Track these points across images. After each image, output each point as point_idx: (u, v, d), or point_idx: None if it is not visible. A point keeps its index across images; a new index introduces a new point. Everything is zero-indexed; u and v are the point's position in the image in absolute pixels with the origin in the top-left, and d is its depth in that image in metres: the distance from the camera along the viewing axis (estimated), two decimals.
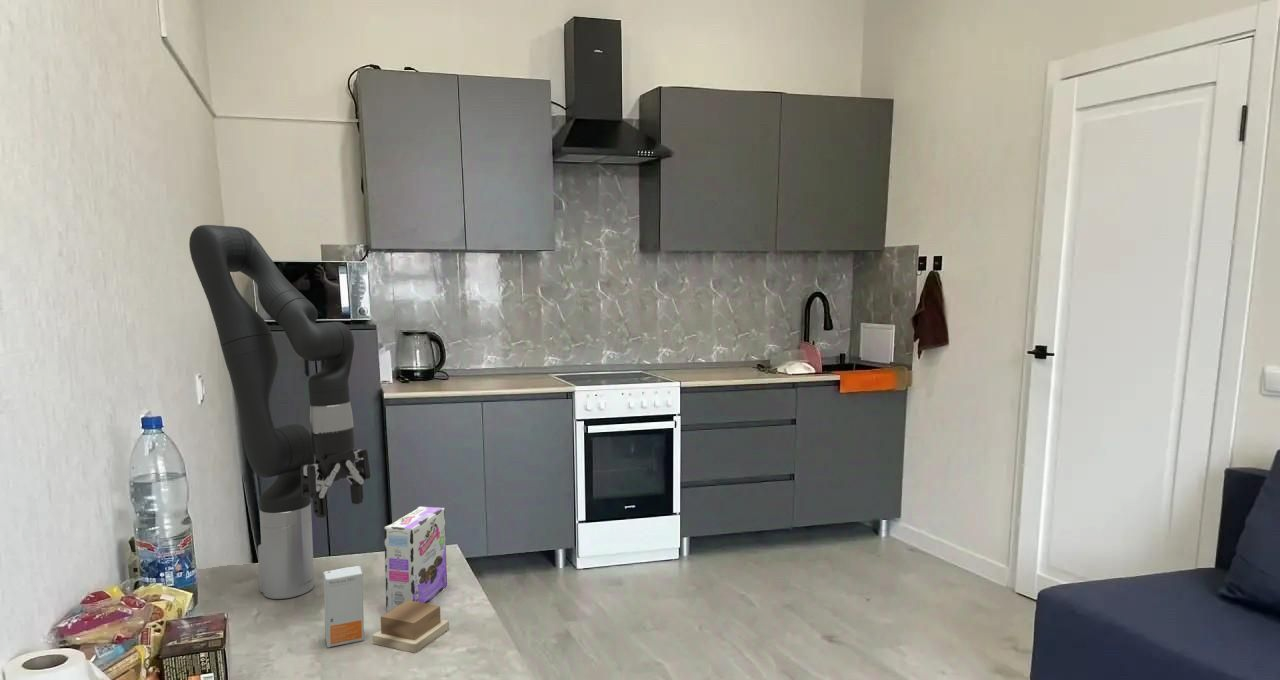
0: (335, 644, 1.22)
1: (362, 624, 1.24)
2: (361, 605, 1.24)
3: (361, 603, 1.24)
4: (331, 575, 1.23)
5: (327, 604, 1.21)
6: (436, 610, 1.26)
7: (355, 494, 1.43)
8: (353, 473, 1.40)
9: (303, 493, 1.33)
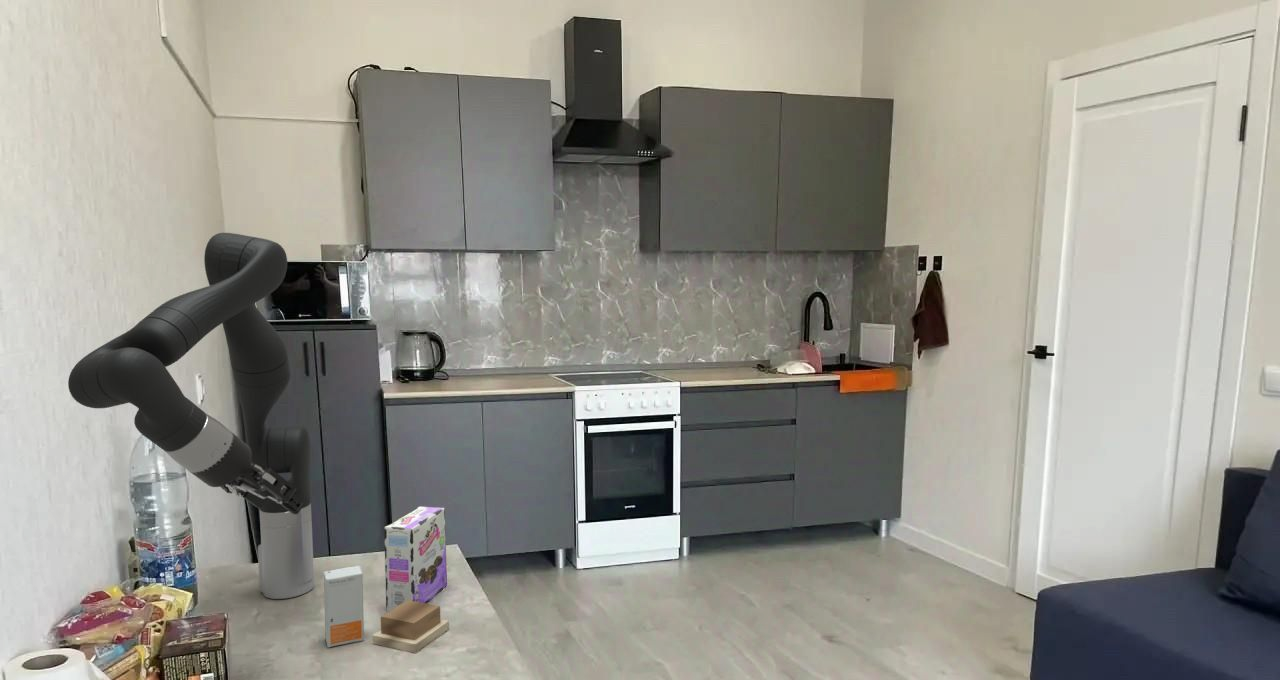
0: (335, 644, 1.22)
1: (362, 624, 1.24)
2: (361, 605, 1.24)
3: (361, 603, 1.24)
4: (331, 575, 1.23)
5: (327, 604, 1.21)
6: (436, 610, 1.26)
7: None
8: (257, 495, 1.09)
9: None
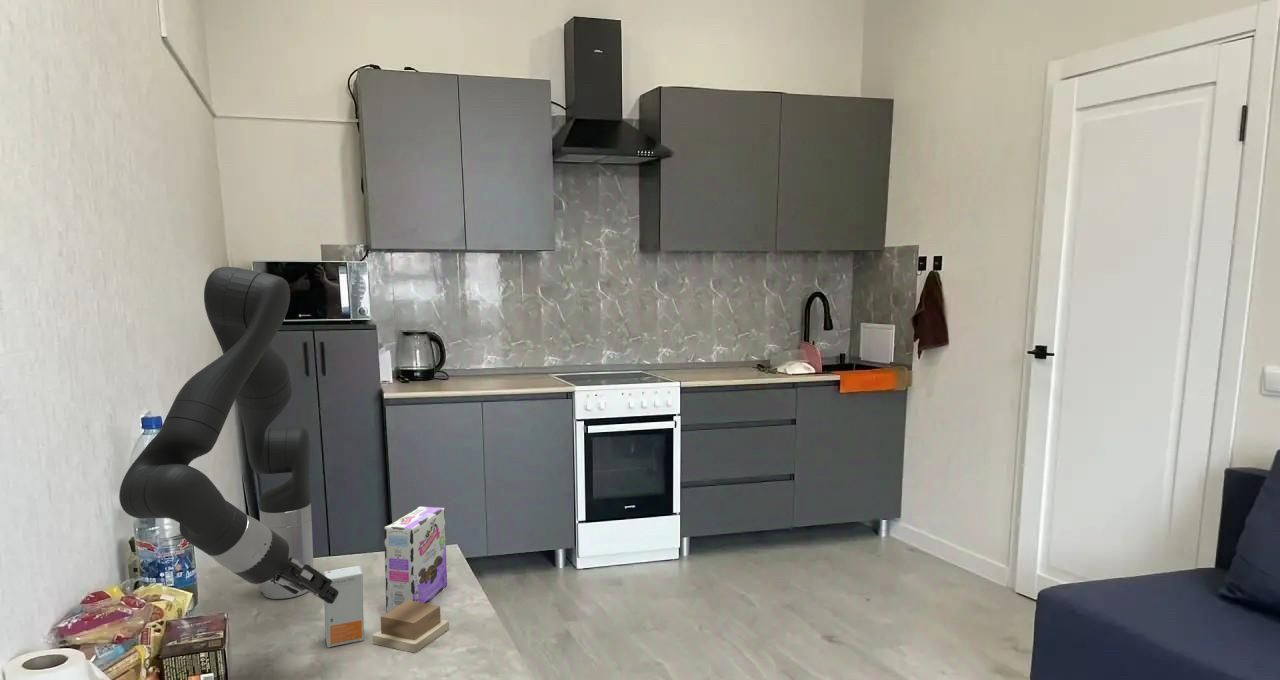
0: (335, 644, 1.22)
1: (362, 624, 1.24)
2: (361, 605, 1.24)
3: (361, 603, 1.24)
4: (331, 575, 1.23)
5: (327, 604, 1.21)
6: (436, 610, 1.26)
7: None
8: (294, 588, 1.13)
9: None
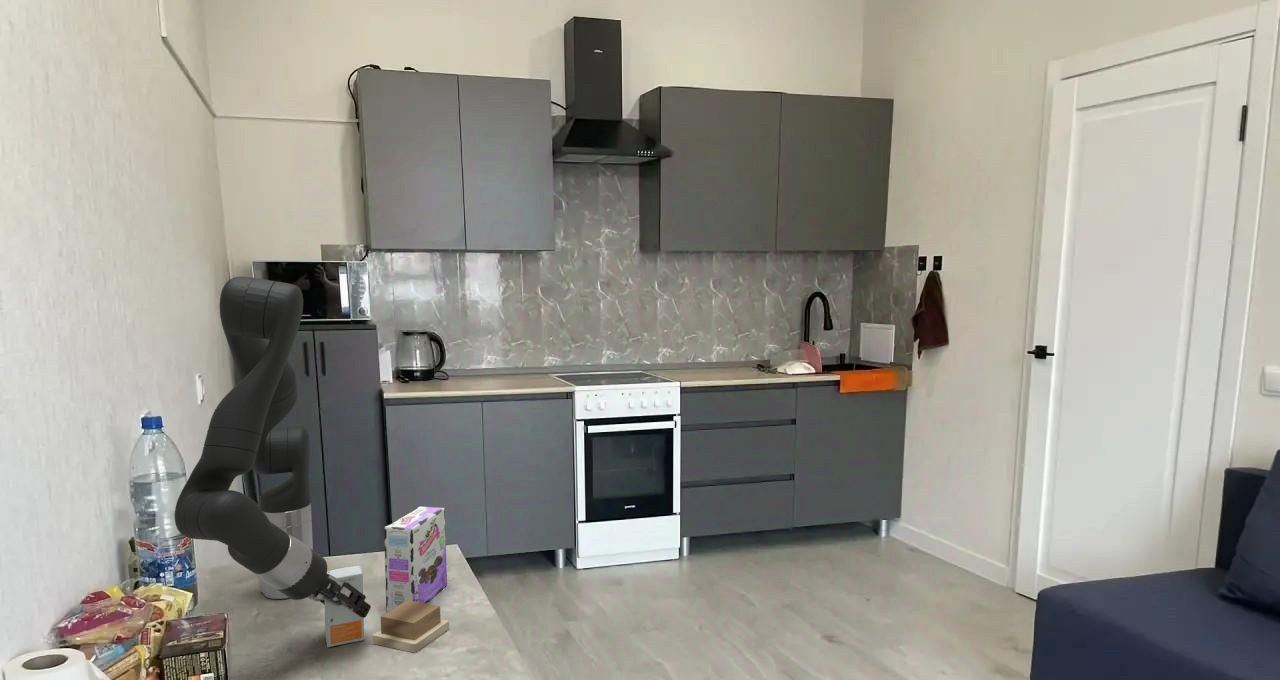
0: (335, 644, 1.22)
1: (362, 624, 1.24)
2: None
3: None
4: None
5: (327, 604, 1.21)
6: (436, 610, 1.26)
7: None
8: (331, 603, 1.19)
9: None
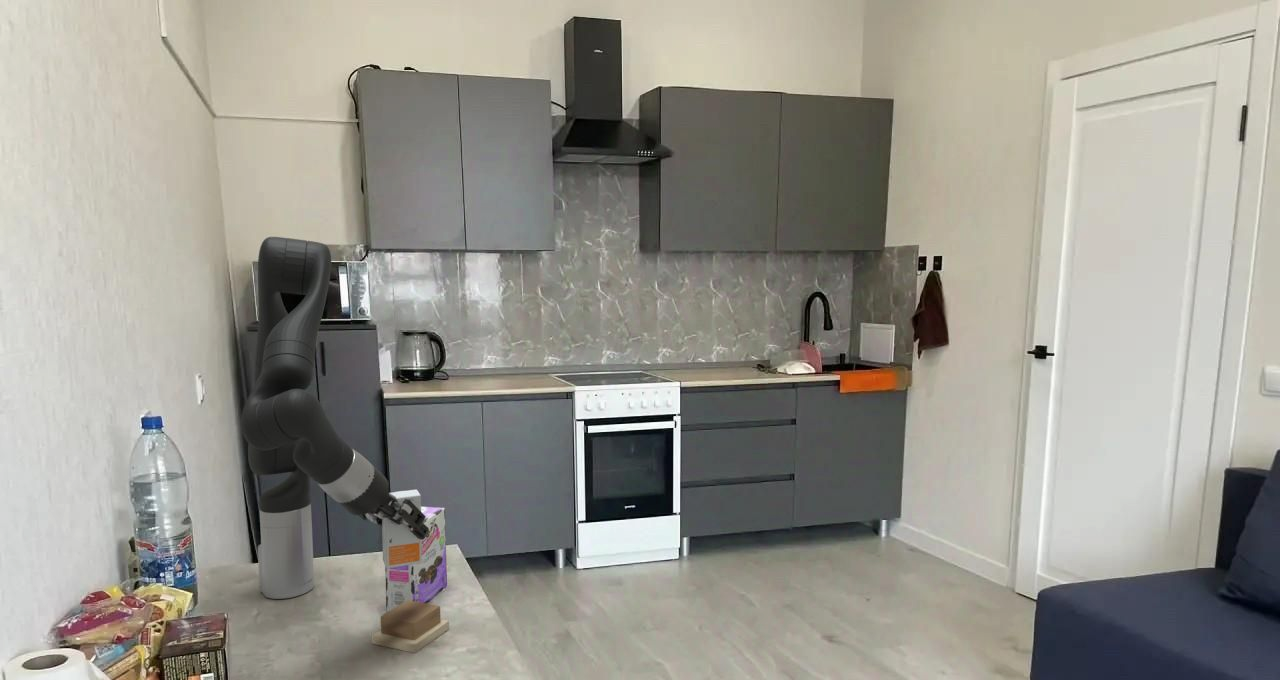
0: (393, 565, 1.21)
1: (420, 547, 1.23)
2: None
3: None
4: None
5: (386, 524, 1.21)
6: (436, 610, 1.26)
7: None
8: (391, 522, 1.19)
9: None
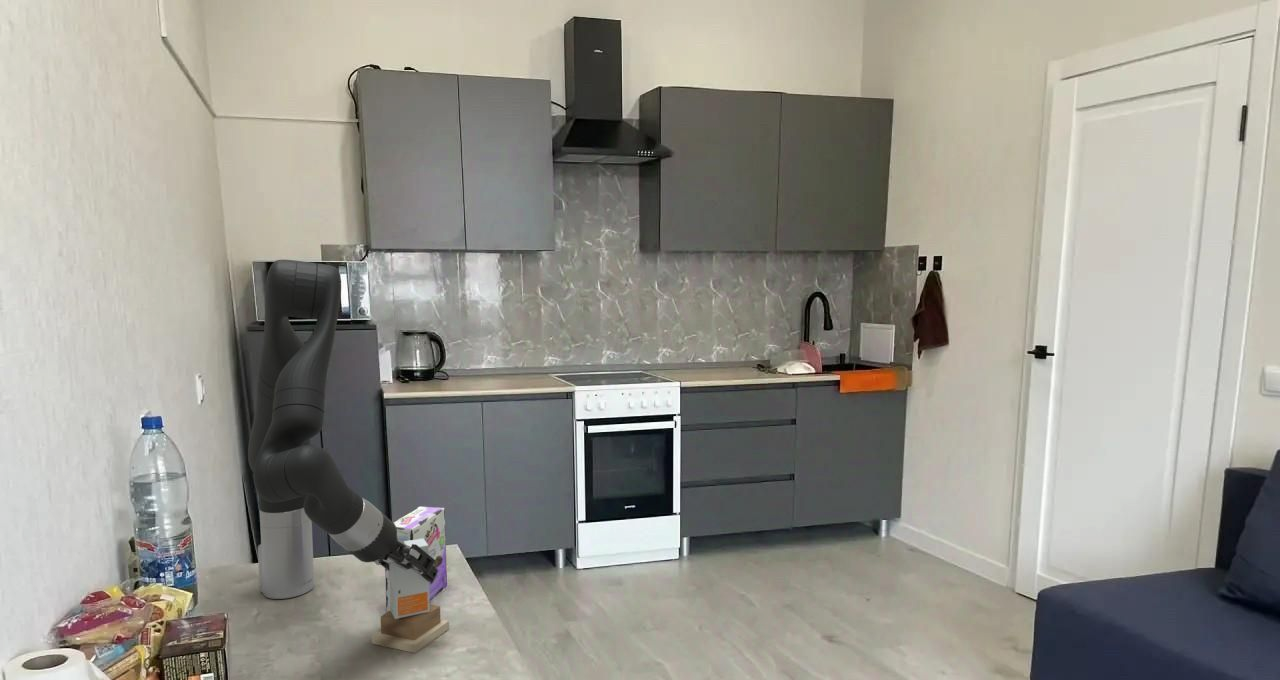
0: (402, 616, 1.23)
1: (428, 596, 1.24)
2: None
3: None
4: None
5: (395, 575, 1.22)
6: (436, 610, 1.26)
7: None
8: (400, 567, 1.20)
9: None
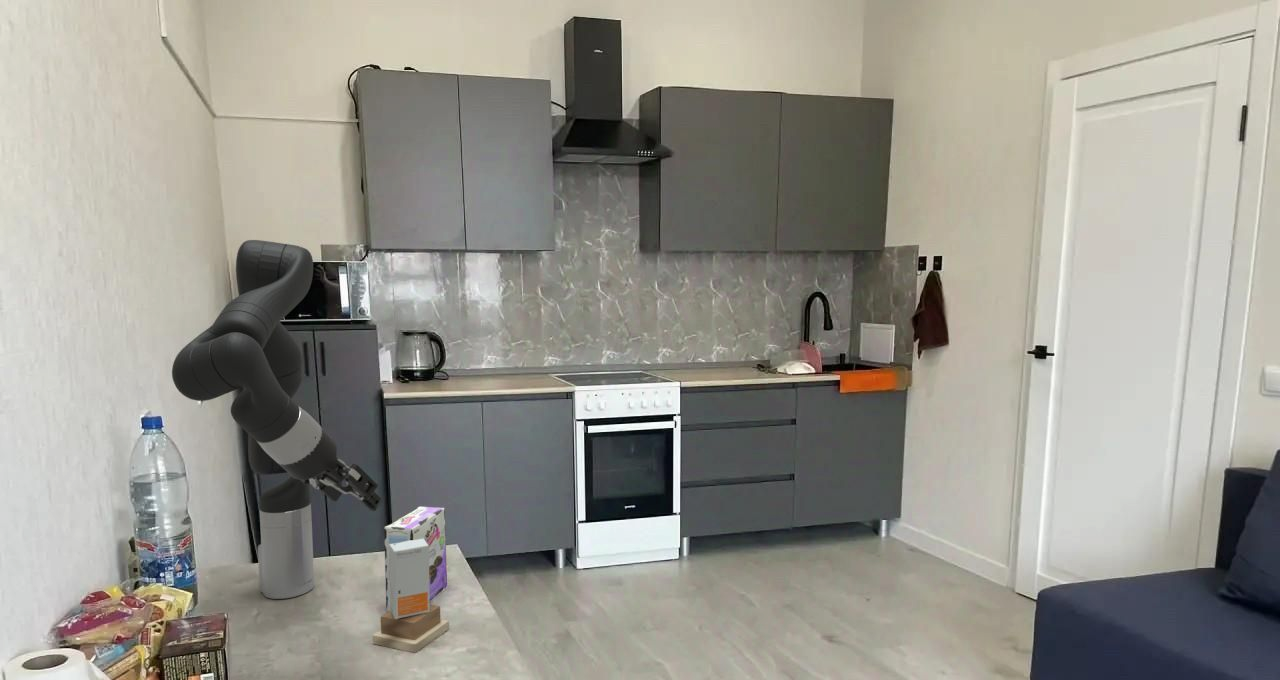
0: (402, 616, 1.23)
1: (428, 596, 1.24)
2: (427, 577, 1.24)
3: (427, 575, 1.24)
4: (398, 547, 1.23)
5: (395, 576, 1.21)
6: (436, 610, 1.26)
7: None
8: (338, 490, 1.09)
9: None
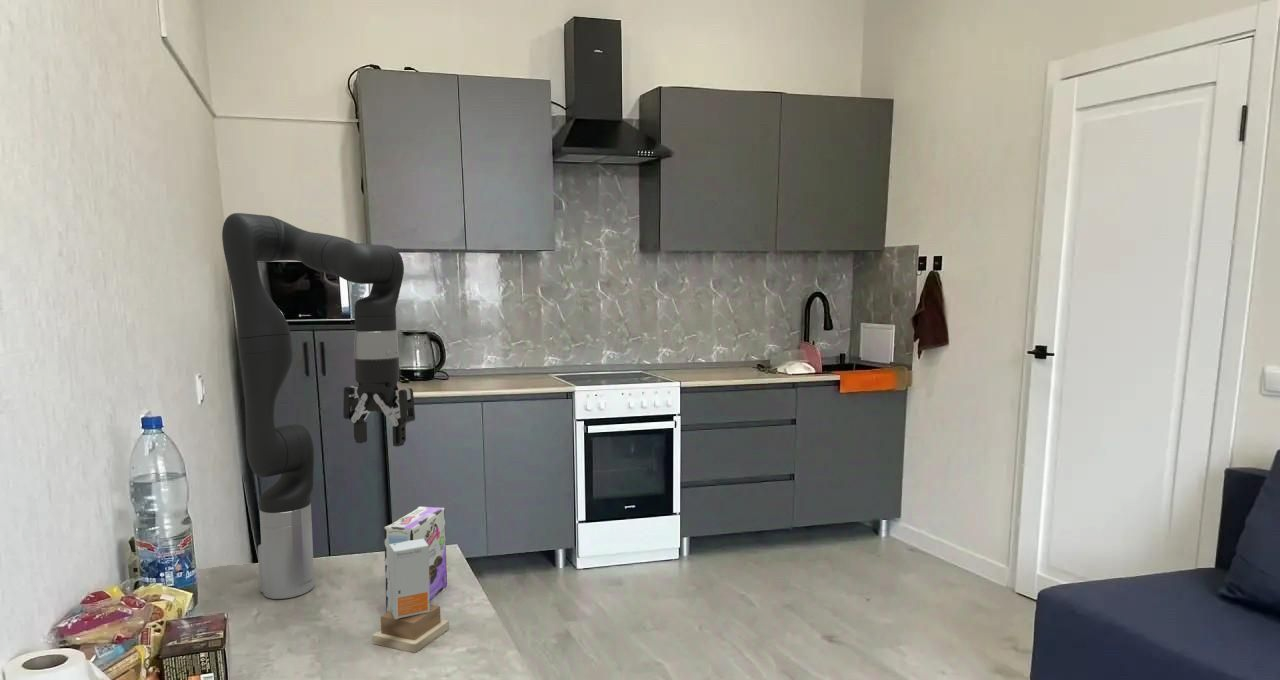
0: (402, 616, 1.23)
1: (428, 596, 1.24)
2: (427, 577, 1.24)
3: (427, 575, 1.24)
4: (398, 547, 1.23)
5: (395, 576, 1.21)
6: (436, 610, 1.26)
7: None
8: (383, 410, 1.29)
9: None
